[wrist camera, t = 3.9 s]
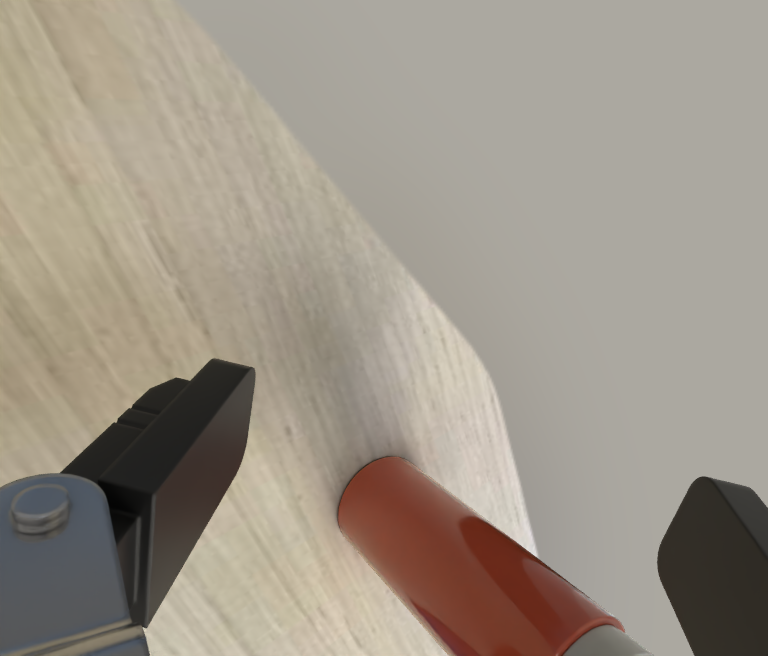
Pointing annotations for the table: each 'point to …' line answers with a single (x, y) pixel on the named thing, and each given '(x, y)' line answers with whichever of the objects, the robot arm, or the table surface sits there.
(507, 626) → the terracotta shaker
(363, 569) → the table surface
